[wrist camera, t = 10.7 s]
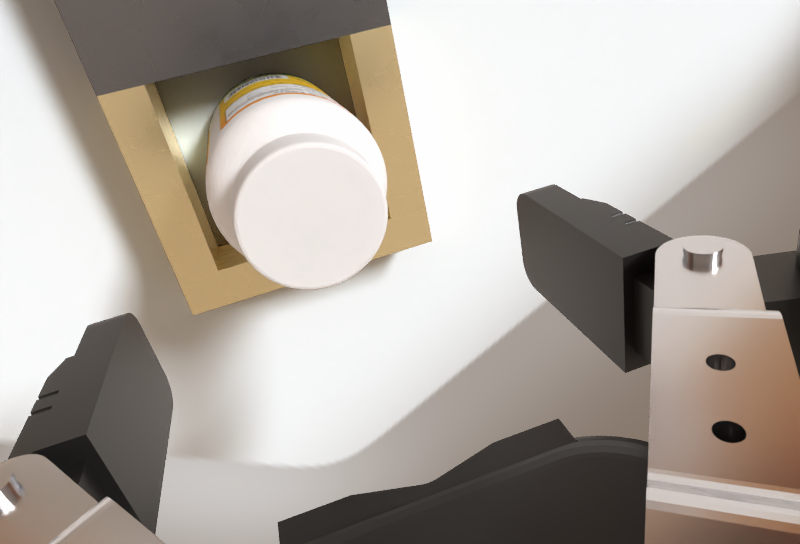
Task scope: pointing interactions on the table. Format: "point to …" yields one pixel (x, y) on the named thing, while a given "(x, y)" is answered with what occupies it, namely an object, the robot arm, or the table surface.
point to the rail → (216, 46)
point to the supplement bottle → (295, 182)
